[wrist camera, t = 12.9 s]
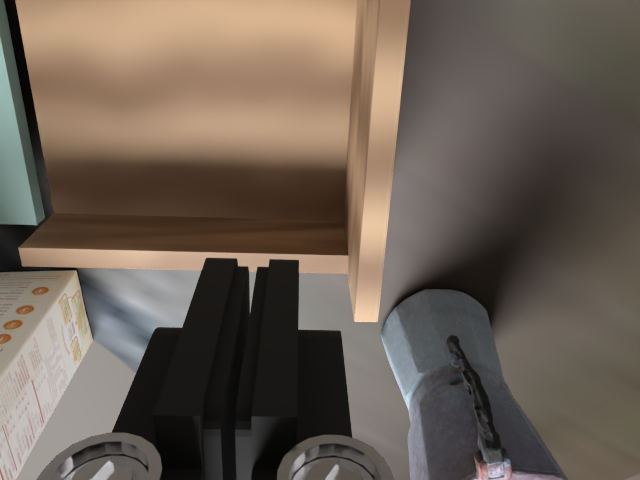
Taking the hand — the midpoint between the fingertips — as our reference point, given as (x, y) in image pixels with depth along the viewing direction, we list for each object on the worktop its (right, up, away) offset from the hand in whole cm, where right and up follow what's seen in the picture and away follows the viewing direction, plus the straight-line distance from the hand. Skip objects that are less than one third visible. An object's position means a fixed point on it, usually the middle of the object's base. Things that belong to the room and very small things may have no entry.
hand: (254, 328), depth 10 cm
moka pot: (+10, -6, +36) cm, 37 cm away
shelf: (-6, +13, +26) cm, 30 cm away
